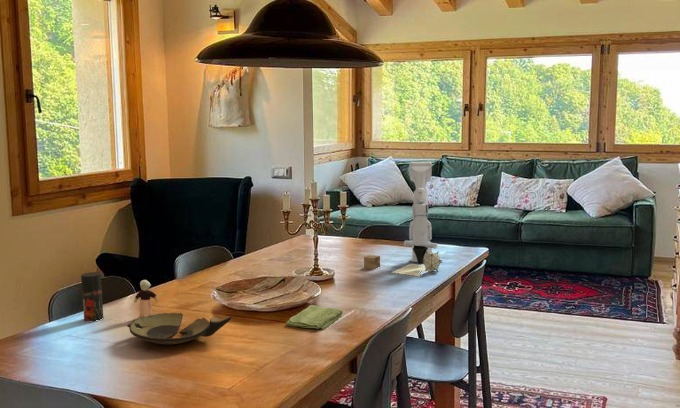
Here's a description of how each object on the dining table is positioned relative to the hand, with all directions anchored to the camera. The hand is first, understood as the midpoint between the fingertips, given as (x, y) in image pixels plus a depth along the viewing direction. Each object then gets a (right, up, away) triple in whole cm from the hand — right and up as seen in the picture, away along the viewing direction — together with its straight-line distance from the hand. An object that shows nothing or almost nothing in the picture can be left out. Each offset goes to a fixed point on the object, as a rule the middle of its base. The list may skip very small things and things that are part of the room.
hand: (420, 263), depth 279 cm
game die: (+4, -3, -3) cm, 6 cm away
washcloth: (-41, -13, -67) cm, 80 cm away
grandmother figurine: (-97, -12, -61) cm, 115 cm away
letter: (-2, -3, -1) cm, 3 cm away
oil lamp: (-81, -15, -84) cm, 118 cm away
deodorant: (-114, -13, -61) cm, 130 cm away
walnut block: (-20, -2, +5) cm, 21 cm away
